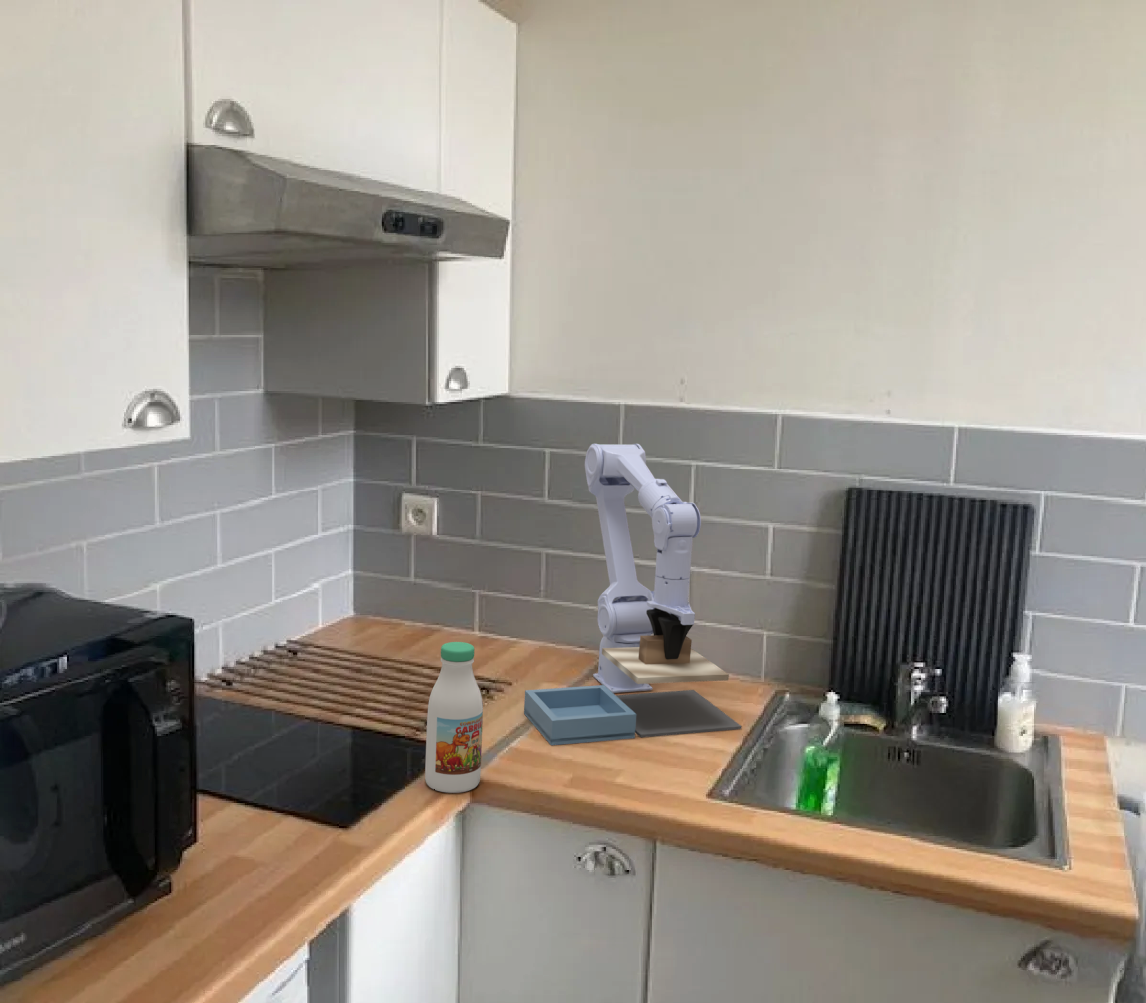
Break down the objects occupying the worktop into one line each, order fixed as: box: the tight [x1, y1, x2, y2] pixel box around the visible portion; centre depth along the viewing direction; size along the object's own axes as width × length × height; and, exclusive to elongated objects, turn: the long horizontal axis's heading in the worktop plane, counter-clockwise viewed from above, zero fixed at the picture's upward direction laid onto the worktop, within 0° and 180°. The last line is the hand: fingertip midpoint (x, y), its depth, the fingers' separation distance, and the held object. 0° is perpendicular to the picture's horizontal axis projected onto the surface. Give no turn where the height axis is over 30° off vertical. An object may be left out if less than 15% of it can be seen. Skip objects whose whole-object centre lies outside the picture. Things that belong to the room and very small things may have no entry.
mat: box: [615, 689, 742, 739], centre depth 191 cm, size 18×18×1 cm
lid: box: [602, 634, 730, 685], centre depth 188 cm, size 16×16×5 cm
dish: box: [523, 684, 636, 746], centre depth 183 cm, size 14×14×4 cm
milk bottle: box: [424, 641, 484, 794], centre depth 157 cm, size 8×8×20 cm
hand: (667, 655), depth 188 cm, fingers closed on lid, 3 cm apart
